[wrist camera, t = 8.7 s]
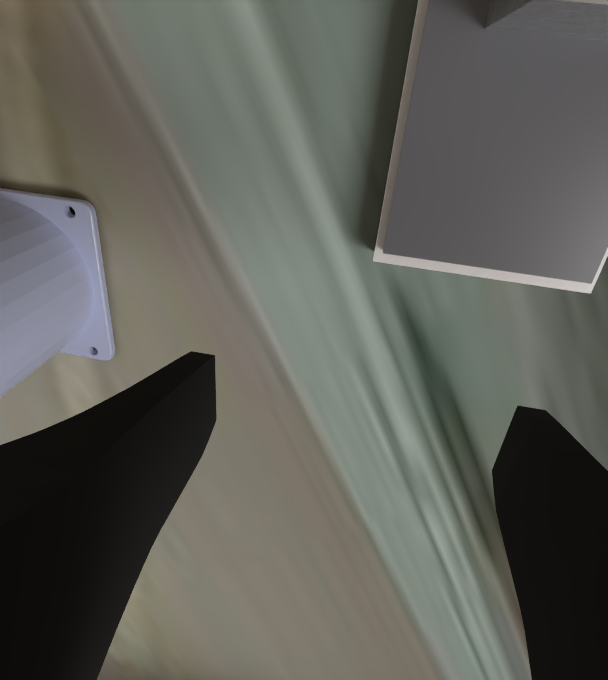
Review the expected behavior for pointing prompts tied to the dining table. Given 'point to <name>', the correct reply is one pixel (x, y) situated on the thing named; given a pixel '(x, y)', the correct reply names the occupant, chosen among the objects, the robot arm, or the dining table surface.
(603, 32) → the block
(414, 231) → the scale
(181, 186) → the dining table surface
